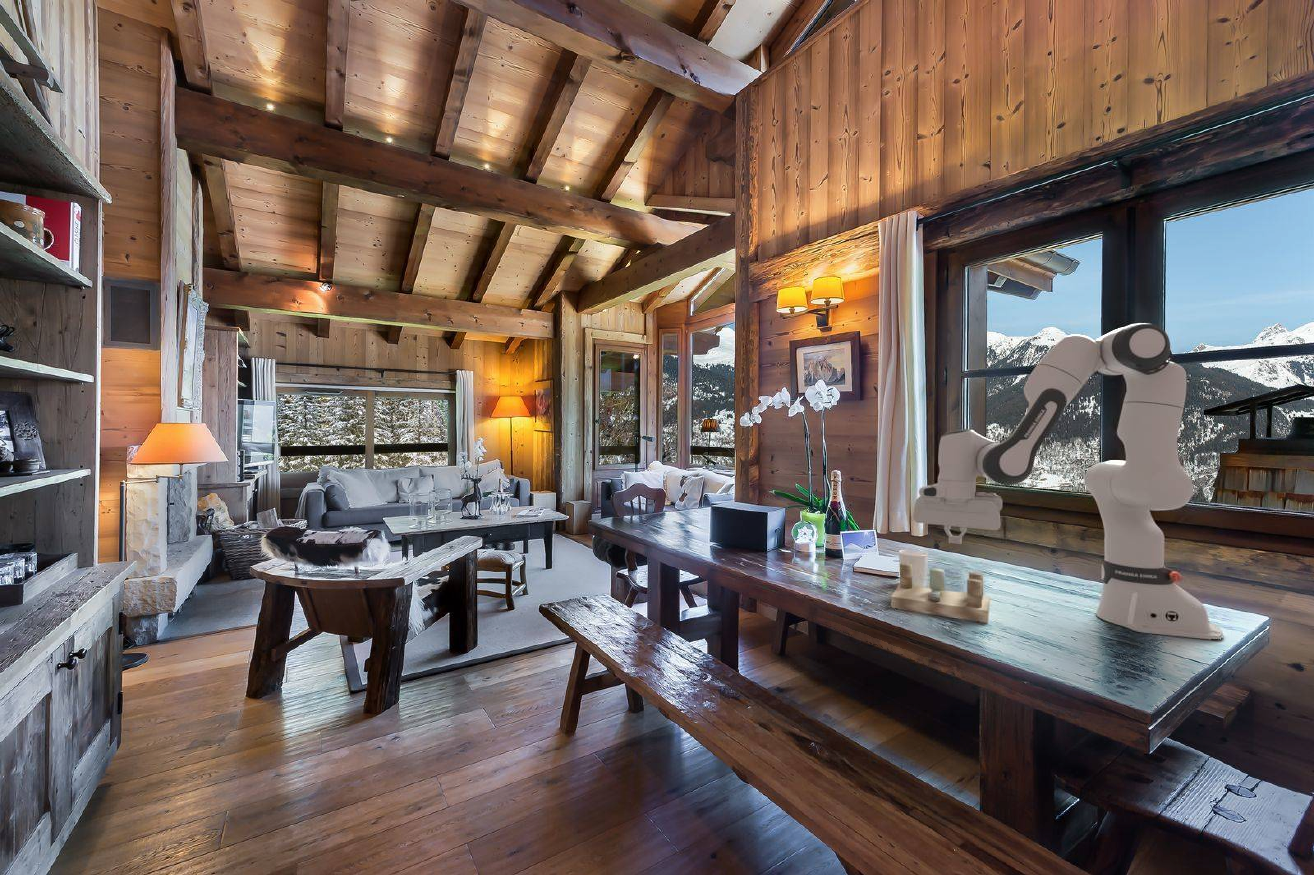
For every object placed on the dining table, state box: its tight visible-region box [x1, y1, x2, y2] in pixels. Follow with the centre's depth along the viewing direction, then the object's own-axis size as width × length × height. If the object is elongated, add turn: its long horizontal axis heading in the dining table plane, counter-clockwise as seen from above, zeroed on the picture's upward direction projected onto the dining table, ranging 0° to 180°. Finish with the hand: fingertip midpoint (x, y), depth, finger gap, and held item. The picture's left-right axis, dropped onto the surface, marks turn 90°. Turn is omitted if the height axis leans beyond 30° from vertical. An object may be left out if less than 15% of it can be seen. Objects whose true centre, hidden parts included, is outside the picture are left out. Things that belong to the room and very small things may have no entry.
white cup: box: [898, 549, 929, 588], centre depth 167 cm, size 8×8×10 cm
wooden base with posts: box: [890, 563, 991, 624], centre depth 146 cm, size 22×14×9 cm, turn 58°
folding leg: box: [928, 567, 946, 601], centre depth 146 cm, size 10×4×6 cm, turn 148°
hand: (955, 543), depth 146 cm, fingers closed
